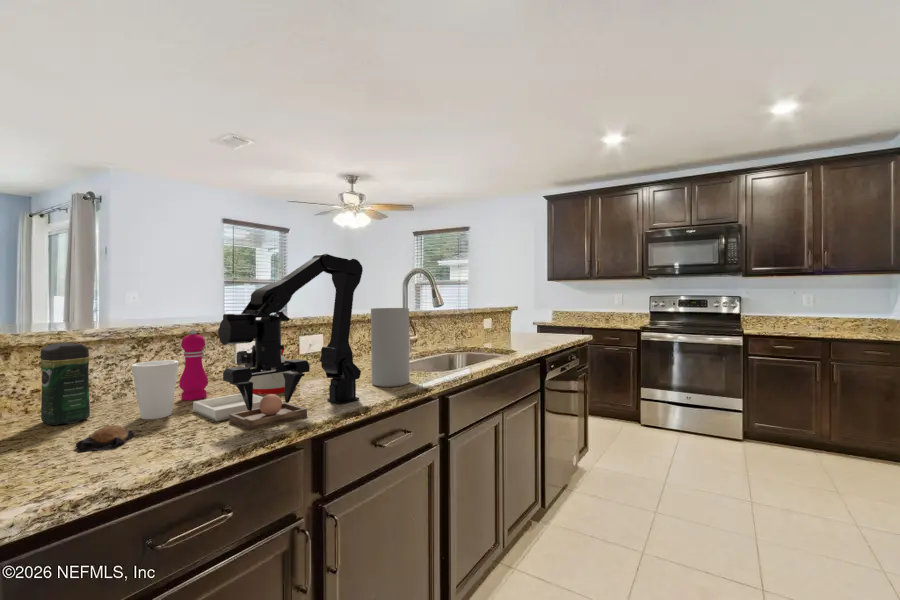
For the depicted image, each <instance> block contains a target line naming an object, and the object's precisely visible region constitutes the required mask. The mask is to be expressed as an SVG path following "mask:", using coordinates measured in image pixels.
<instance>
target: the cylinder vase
mask: <svg viewBox="0 0 900 600" xmlns="http://www.w3.org/2000/svg"><path fill="white" fill-rule="evenodd" d="M370 343H371V344H370V345H371V347H370V348H371V350H370V351H371V352H370V353H371V356H370V359H371V360H370V361H371V364H370V365H371V366H370V367H371V371H370V372H371V384H372V385H373V386H375V387H381V388H382V387H383V388H393V387H395V388H397V387H402V386H406V385H408V384H409V383H410V308H408V307H378V308H377V307H376V308H375V307H374V308H370Z"/></svg>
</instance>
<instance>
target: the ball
mask: <svg viewBox="0 0 900 600" xmlns="http://www.w3.org/2000/svg"><path fill="white" fill-rule="evenodd" d="M262 397H263V398H262V399H261V401H260V404H259V407H260V410H261V412H262V413H263V414H265V415H268V416H271V415H275V414H277V413H278V412H279V411H280V409H281V407H282V403H283V401H282V399H281V398H280V396H279V395H277V394H265V395H264V396H262Z"/></svg>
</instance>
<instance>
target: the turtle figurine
mask: <svg viewBox="0 0 900 600" xmlns="http://www.w3.org/2000/svg"><path fill="white" fill-rule="evenodd" d="M134 436H135V432H133V430H128V429H126V428H125V427H123V426H121V425H118V424H117V425H116V424H115V425H112V424H111V425H106V426H103V427H101V428H98V429H97V430H95V431H94V432H93V433H91V434H89V436H88V437H86V438H84V439H82V440H80V441H78V442H76V443H75V447H76V453H78V454H79V453H80V454H81V453H90V452H101V451H109V450H114V449H118V448H120V447H121V448H122V446H124V445H125V444H127V443H128V442H129V441H130V439H132V438H134Z"/></svg>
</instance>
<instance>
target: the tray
mask: <svg viewBox="0 0 900 600" xmlns="http://www.w3.org/2000/svg"><path fill="white" fill-rule="evenodd" d="M304 417H305V418H306V417H308V409H307V408H305V407H303V406H302V407H301V406H299V405H295V404H292V403H290V402H289V403H286V402H285V401H284V402H282V407H281V409H280V411H279V412H278V413H277V414H275V415H271V416H268V415H265V414H263V413H262V412H261V410H260V408H257V409H252V410H251V411H249V410H247V411H243V412H238V413H233V414H229V418H228V419H229V421H228V422H229V423H231V424H234V425H236V426H238V427H241V428H243V429H245V430H247V431H252V430H256V429H261V428H264V427H268V426H273V425H277V424H281V423H286V422H289V421H293V420H298V419H301V418H304Z"/></svg>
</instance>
